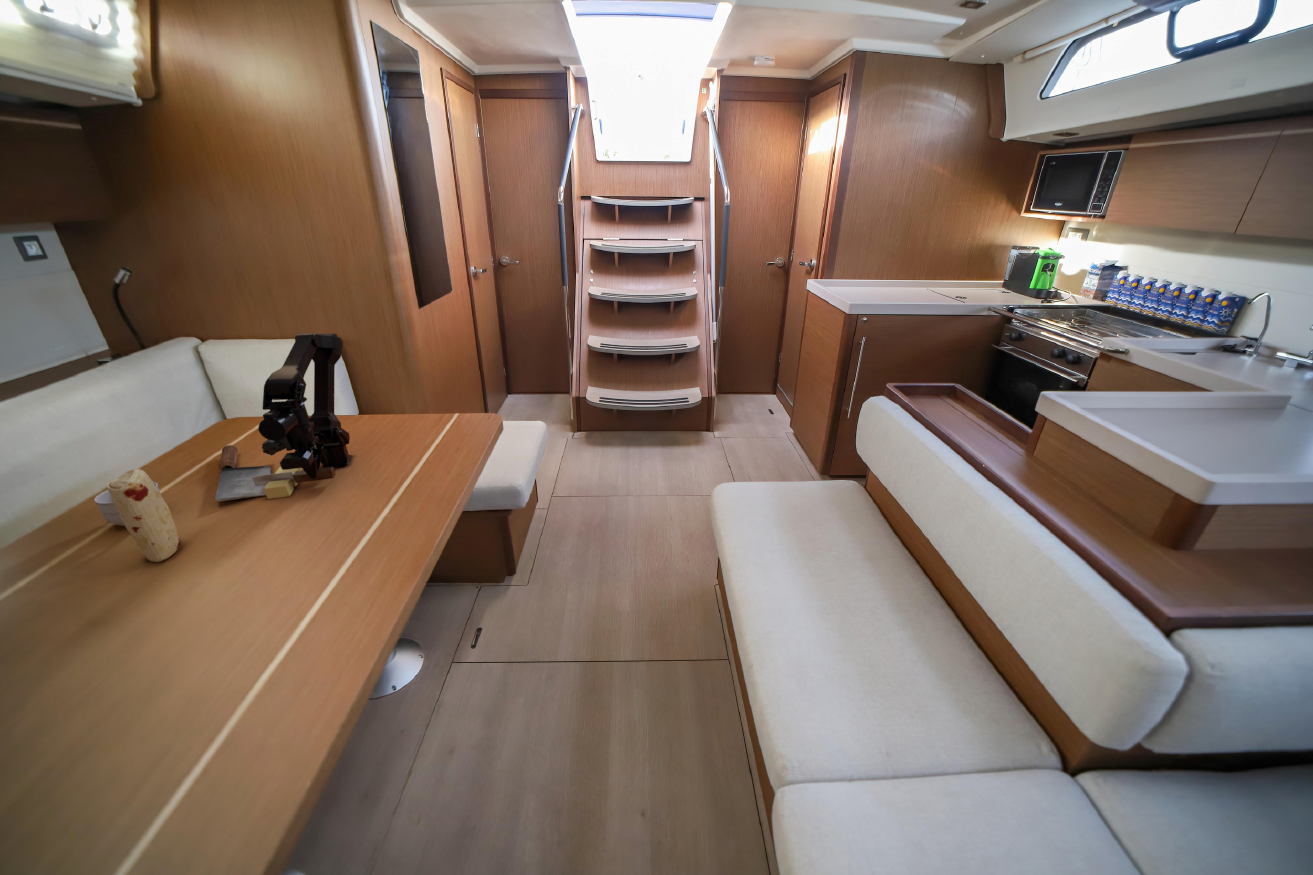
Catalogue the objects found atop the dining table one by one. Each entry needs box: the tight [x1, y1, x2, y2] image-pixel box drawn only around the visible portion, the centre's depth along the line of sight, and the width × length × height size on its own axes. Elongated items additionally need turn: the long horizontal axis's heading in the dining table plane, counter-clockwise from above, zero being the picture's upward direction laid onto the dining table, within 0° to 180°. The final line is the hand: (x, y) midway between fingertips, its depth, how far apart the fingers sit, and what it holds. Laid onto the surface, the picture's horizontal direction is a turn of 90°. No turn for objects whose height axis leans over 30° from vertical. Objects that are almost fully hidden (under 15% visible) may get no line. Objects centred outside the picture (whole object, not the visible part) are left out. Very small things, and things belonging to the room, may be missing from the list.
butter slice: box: [264, 479, 295, 500], centre depth 132 cm, size 5×4×3 cm
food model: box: [106, 468, 181, 563], centre depth 106 cm, size 10×7×20 cm
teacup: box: [93, 481, 162, 527], centre depth 119 cm, size 14×11×8 cm
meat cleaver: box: [214, 444, 271, 502], centre depth 141 cm, size 34×11×4 cm, turn 36°
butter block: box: [274, 466, 303, 488], centre depth 138 cm, size 5×7×3 cm
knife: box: [252, 467, 336, 487], centre depth 134 cm, size 18×2×3 cm, turn 107°
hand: (314, 475), depth 136 cm, fingers closed on knife, 2 cm apart
